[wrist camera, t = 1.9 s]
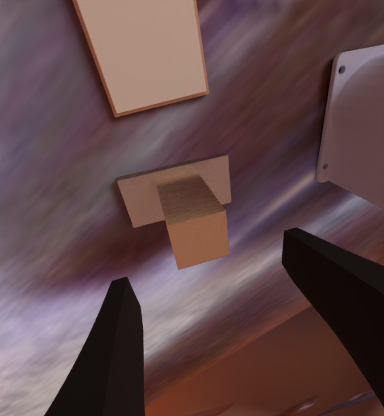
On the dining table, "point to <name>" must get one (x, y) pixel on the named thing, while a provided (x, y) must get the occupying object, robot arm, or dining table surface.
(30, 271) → the dining table surface
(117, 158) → the dining table surface
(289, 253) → the robot arm
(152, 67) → the tile
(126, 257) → the dining table surface
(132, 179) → the scraper
